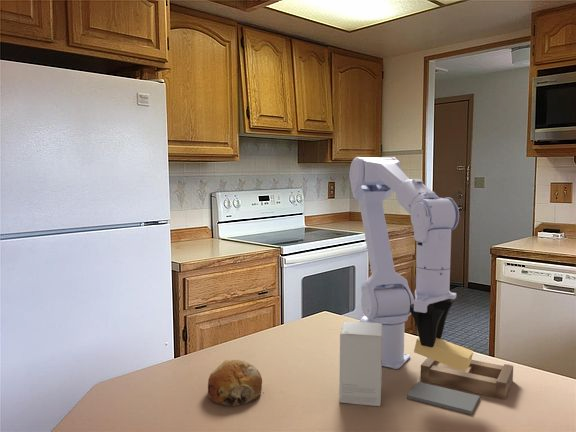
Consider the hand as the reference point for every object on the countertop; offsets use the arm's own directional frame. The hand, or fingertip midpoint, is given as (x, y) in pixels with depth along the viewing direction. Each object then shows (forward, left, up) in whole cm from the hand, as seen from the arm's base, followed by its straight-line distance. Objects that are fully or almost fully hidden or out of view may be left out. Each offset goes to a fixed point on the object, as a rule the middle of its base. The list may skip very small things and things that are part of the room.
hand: (431, 341), depth 87 cm
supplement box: (-11, -6, -10) cm, 16 cm away
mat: (+2, 0, -10) cm, 10 cm away
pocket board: (+5, +10, -10) cm, 15 cm away
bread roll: (-30, -18, -10) cm, 37 cm away
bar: (+2, 0, -3) cm, 3 cm away
